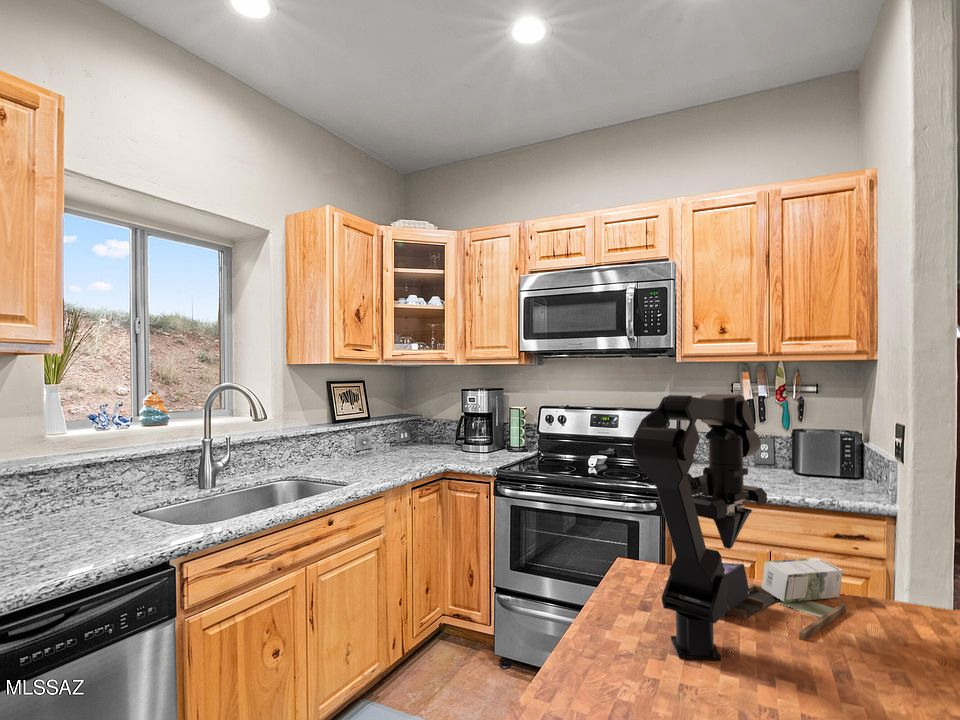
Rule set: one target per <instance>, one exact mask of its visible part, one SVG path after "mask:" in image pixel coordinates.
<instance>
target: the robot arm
mask: <svg viewBox="0 0 960 720" xmlns="http://www.w3.org/2000/svg"><path fill="white" fill-rule="evenodd" d="M697 420H700V421H701V423H704V424H706V425H707V426H708V428H709V429H710V430H709V431H707V433H706V435H705V439H706V440H708V466H705V467H704V468H703V469H702V472H703V473H702V475H699V476H692V475H691V473H690V472H689V471H690V469H691V466H692V465H693V463H694V460H695V455H694V454H695V451H696V449H697V446H698V445H699V442H700V439H701V438H700V435H699V432H698V429H697V426H696V422H697ZM670 421H687V422H688V421H689V423H688V425H687V428H686V430H685V429H684V428H676V427H675V428H673V427H665V426H666V425H668V424H669V422H670ZM755 430H756V424H755V421H754V418H753V415H752V411H751V408H750V405H749V402H748V401H747V400H745V397H744V395H742V394H721V393H717V394H716V393H715V394H713V393H712V394H711V393H709V394H705V395H702V396H701V397H696V396H693V395H691V394H690V395H685V394H684V395H682V394H680V395H679V394H669V395H667V396H663V398H661V401H660V403H659V405H658V406H657V407H656V408H655V409H653V411H651V412H650V413H648V414H647V415H645V417H643V418H642V419H641V421H640V423H639V425H638V427H637V428H636V430H635V433H634V435H633V436H632V439H631V449H632V453H633V456H634V458H635V460H636V462H637V465H638V467H639V470H640V471H641V472H642V473H643V474H644V475H645V476H646V477H647V478H648V479H649V480H650V481H652V482H653V483H654V485H655V487H656V492H657V495H658V498H659V503H660V506H661V508H662V513H663V515H664V519H665V520H664V521H665V524H666V526H667V530H668V535H669V537H670V541H671V544H672V548H673V551H674V556H675V558H674V560H673V562H672V564H671V565H670V568H669V575H668V578H667V582H666V584H665V587H664V590H663V593H662V596H661V603H662V606H663V609H665V610H670V611H674V612H675V634H676V635H671V636H670V641H671V644H672V645H673V648H674V650H675V652H676V654H677V657H678V658H680V659H690V660H692V659H694V660H706V661H709V660H710V661H721V660H722V656H721V653H720V652H719V651H718V648H717V647H716V645H715V642H714V641H715V639H714V638H715V635H714V633H715V632H714V625H715V624H716V623H718V622H719V620H721V619H723V618H724V617H725V615H726V614H727V613H726V605H727V595H728V580H727V578H726V577H725V573H724V571H725V568H724V567H723V564H722V563H723V560H722V555H721V553H720V552H719V551H718V550H716V549H711V548H707V546H706V543H705V539H704V536H703V531H702V527H701V523H700V520H699V517H701V518H705V519H710V520H713V522H714V524H715V526H716V529H717V532H718V534H719V538H720V540H721V542H722V545H723V547H724V548H725V549H728V550H729V549H730V550H731V549H732V548H733V546H734V545H735V542H736V541H737V539H738V537H739V534H740V532H741V530H742V528H743V527H744V525H745V523H746V521H747V519H748V518H749V515H750V514H751V513H752V511H753V509H751V508H746V507H745V504H744V503H743V502H746V501H751V502H755V504H756V505H757V506H764V505H767V504H768V493H767V492H766V491H765V490H764V489H763V488H762V487H757V486H751V485H745V484H744V476H746V475H748V474H749V469H748V467H747V468H746V467H744V458H747V457H750V456H753V455H755V454H756V453H758V451H759V450H760V448H761V443H762V442H761V439H760V437H759V435H758V433H757V432H756V431H755ZM700 494H701V495H700ZM693 495H694V496H693ZM680 595H683V596H687V597H690V598H694V599H697V600H701V601H704V602H708V603H711V606H708V605H704V604H701V603H698V602H694V601H691V600H687V599H684V598H680V597H679V596H680Z"/></svg>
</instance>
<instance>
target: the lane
mask: <svg viewBox="0 0 960 720" xmlns="http://www.w3.org/2000/svg"><path fill="white" fill-rule="evenodd" d="M748 587H749V592H750V596H749V597H748V598H747V599H745V600H744V601H742V602H741V603H739V604H738V605H737V606H735V607H734V608H732V609H731V610H729V611H726V614H728V615H730V616H734V617H736V618H739V619H742V620H746V619H748V618H749V617H751V616H752V615H755V614H757V613H758V612H761V611H762V610H763V609H765V607H766V608H767V607H769V606H771V605H772V603H773V604H775V603H776V602H778V601H780V600H779V599H778V598H777V597H775V596H773V595H772V594H770V593H769V592H767V591H766V590H764V589H762V585H758V584H755V583H751V584H748ZM781 602H782V603H781ZM770 604H771V605H770ZM780 604H783V605H784V606H783V605H782V606H783V607H786V606H787V607H786V608H789V607H791V608H790V609H792V608H793V610H796V611H800V612H801V613H806V614H809V615H811V616H815V617H817V618H818V617H819V618H818V619H816V620H814V621H812V622H811V623H810V624H809V625H807V626H805V627H804V628H802V629H800V630H799V632H798V633H799V634H798V635H799V640H802V641H804V642H805V641H806V640H808V639H809V638H811V637H812V636H814V635H816V633H818V632H819V631H820V630H822V629H823V628H825V627H826V626H827V625H829V624H830V623H832V622H833V621H835V620H836V619H838V618H839V617H840V616H842V615H843V614H845V613H846V612H847V604H845V603H840V604H838V605H836V606H835V607H831V606H828V605H825V604H822V603H818V602H815V601H813V600H804V601H793V602H783V601H782V600H781V601H780V602H779V603H778V605H780ZM788 605H789V606H788ZM756 612H757V613H756ZM754 613H755V614H754Z"/></svg>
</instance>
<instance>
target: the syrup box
mask: <svg viewBox="0 0 960 720" xmlns="http://www.w3.org/2000/svg"><path fill="white" fill-rule="evenodd" d="M843 572H844V569H841V568H840V567H837V565H835V564H832V563H830V562H828V561H826V560H824V559H822V558H819V557H813V558H812V557H810V558H796V559H795V558H794V559H782V560H781V559H780V560H766V561H764V568H763V575H762V583H761V586H762V589H764V590H766V591H767V592H769V593H770V594H772V595H773V596H775V597H777V598H778V599H780V600H779V601H781V602H782V601H783V602H793V601H804V600H808V601H813V600H824V599H836V598H840V594H841V588H842V579H843V578H842V577H843ZM834 593H836V594H834Z"/></svg>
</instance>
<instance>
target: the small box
mask: <svg viewBox="0 0 960 720" xmlns="http://www.w3.org/2000/svg"><path fill="white" fill-rule="evenodd" d="M722 564H723V567H724V568H725V571H724V573H725V577H726V578H727V580H728V595H727V605H726V611H729V610H731V609H732V608H734V607H735V606H737V605H738V604H739V603H741V602H742V601H744V600H745V599H747V598H748V597H749V596H750V592H749V587H748V586H749V582H748V577H747V574H746V573H747V572H746V568H745V564H744V563H730V562H722ZM679 597H680V598H684V599H687V600H691V601H694V602H698V603H701V604H704V605H708V606H711V603H708V602H704V601H701V600H697V599H694V598H690V597H687V596H683V595H680V596H679Z"/></svg>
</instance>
